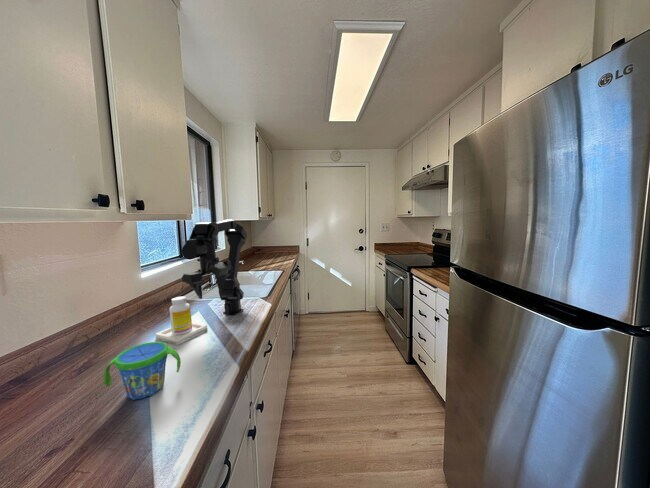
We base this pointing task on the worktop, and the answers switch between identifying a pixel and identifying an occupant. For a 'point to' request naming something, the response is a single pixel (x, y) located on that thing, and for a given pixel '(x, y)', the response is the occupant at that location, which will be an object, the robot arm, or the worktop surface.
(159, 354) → the snack cup
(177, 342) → the tray
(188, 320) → the supplement bottle
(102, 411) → the worktop surface
